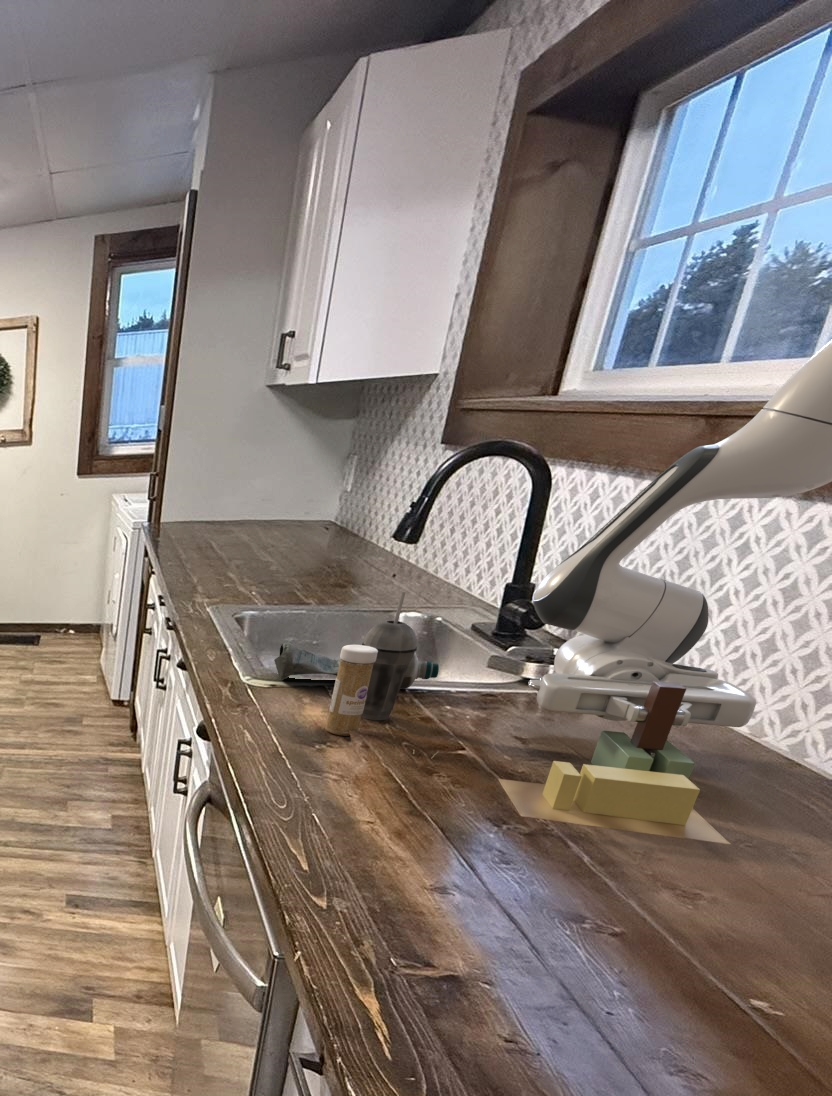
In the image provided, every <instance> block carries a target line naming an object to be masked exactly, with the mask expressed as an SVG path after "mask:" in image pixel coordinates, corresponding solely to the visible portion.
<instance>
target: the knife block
mask: <svg viewBox="0 0 832 1096" xmlns="http://www.w3.org/2000/svg"><path fill="white" fill-rule="evenodd" d="M631 739H632V737H630V736H629V735H628V734H627V733H626V732H624V731H623V732H621V731H613V730H612V731H611V730H601V732H600V735H599V738H598V740H597V744H596V746H595V749H594V752H593V755H592V758H591V760H590V764H591V765H596V766H605V767H614V768H623V769H632V770H642V771H651V772H660V773H669V774H678V775H684V776H685V777H686V778H688V779H689V780H690V778H691V775H692V773H693V771H694V767H695V765H696V762H694V761H693V760H692V759H691V758H690V757H688V756H687V754H685V753H683V752H682V750H680V749H679V748H677V747H676V746H675V745H674V744H672V743H671V742H670V741H669V740H668V739H667V740H666V743H665V745H664V748H663V750H655V749H651V750H652V751H653V752H654V753H655V756H654V759H653V758H652V757H651V756H650V755H649V754H647V753H646V752H645V751H644V750H643V749H642V748H637V747H636V746H635V745H634V744H633V743H632V742H631Z"/></svg>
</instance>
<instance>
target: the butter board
mask: <svg viewBox="0 0 832 1096" xmlns="http://www.w3.org/2000/svg"><path fill="white" fill-rule="evenodd" d="M497 780H498V782H499V783H500V785H501V787H502V788H503V790H504V792H505V793H506V795H507V796H508V798H509V800H510V801H511V803H512V804H513V806H514V807H515V809H516V811H517V812H518V814H519V815H520V817H522V818H529V819H537V820H542V821H543V820H545V821H552V822H559V823H566V824H572V825H573V824H574V825H582V826H588V827H597V828H605V829H612V830H620V831H627V832H634V833H642V834H648V835H657V836H662V837H663V836H664V837H671V838H672V837H673V838H677V839H678V838H679V839H687V840H693V841H701V842H707V843H708V842H709V843H717V844H724V845H731V843H730V842H729V841H728V839H726V838H725V837H724V836H723V835H722V834H721V833H720V832H719V831H717V830H716V829H715V828H714V827H713V826H712V825H711V824H710V822H708V821H707V820H706V819H705V818H703V817H702V816H701V815H700V814H699V813H698V812H697V811H696V810H695V809H694V807H693V808H692V811H691V813H690V816H689V818H688V820H687V823H686V825H678V824H670V823H662V822H654V821H647V820H639V819H631V818H623V817H615V816H608V815H600V814H592V813H584V812H582V810H581V809H580V808H579V807H578V805H577V804H576V803H575V801H574V800H573V802H572V805H571V808H570V810H569V811H568V810H561V809H553V808H552V807H551V806H550V804H549V803H548V801H547V800H546V799H545V797H544V796H543V794H542V793H543V790H544V787H545V785H546V783H537V782H529V781H528V782H527V781H521V780H511V779H505V778H497Z"/></svg>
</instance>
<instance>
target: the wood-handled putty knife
mask: <svg viewBox="0 0 832 1096" xmlns="http://www.w3.org/2000/svg"><path fill="white" fill-rule="evenodd" d="M685 692H686V688H685V687H683V686H682V685H680V684H679V683H668V682H654V681H653V682H652V685H651V688H650V690H649V693H648V696H647V698H646V701H645V704H644V706H645V707H647V708H648V709H649V714H648V716H647V719H646V721H645V722H636V725H635V728H634V729H633V730H634V732H633V734H632V736H631V742H632V743H633V744H634V745H635V746H636V747H637V748H642V749H643V750H644V751H645V752H646V753H647V754H649V755H650V756H651V757H652V758H653V759H654V756H655V753H654V752H653V751H652V750H651V749H655V750H663V748H664V745H665V743H666V740H668V737H669V735H670V732H671V729H672V727H673V726H674V725H673V722H674V720H675V717H676V715H677V712H678V709H679V707H680V704H681V702H682V699H683V697H684V694H685Z"/></svg>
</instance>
